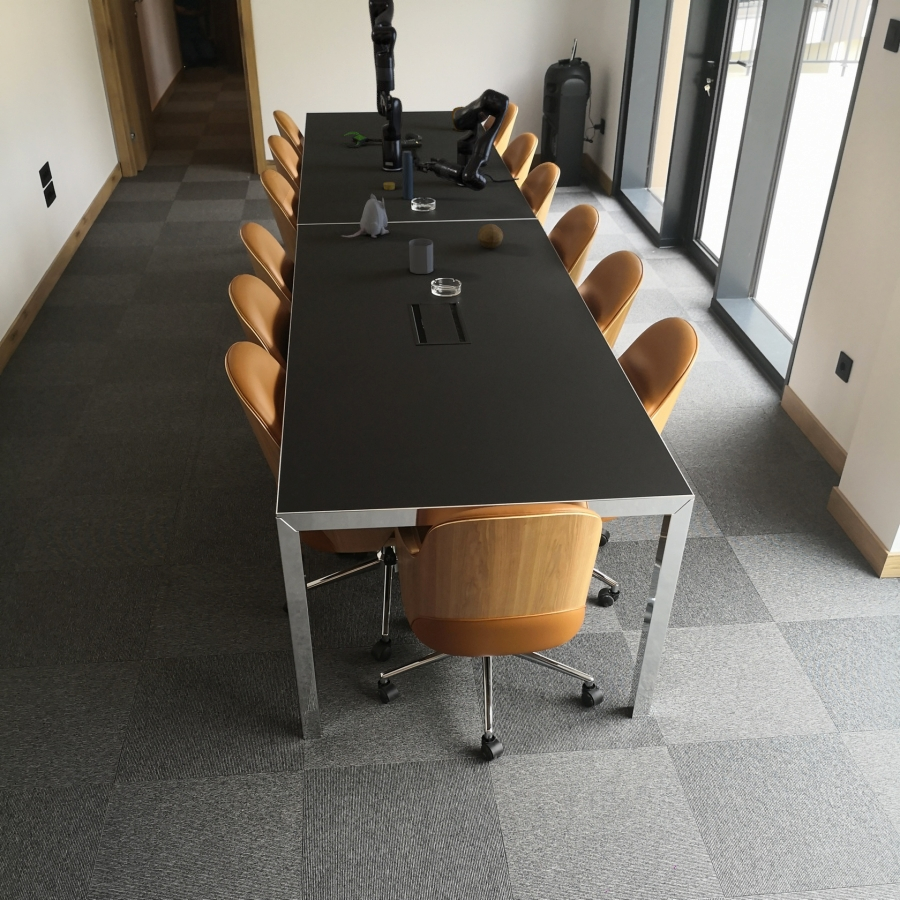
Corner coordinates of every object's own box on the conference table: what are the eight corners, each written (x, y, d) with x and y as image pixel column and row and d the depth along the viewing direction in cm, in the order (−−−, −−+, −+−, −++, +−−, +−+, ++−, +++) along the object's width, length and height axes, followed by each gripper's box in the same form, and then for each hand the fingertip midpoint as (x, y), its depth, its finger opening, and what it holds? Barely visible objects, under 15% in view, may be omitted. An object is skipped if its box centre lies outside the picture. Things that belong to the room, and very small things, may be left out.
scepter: (399, 128, 463) (342, 126, 461) (399, 144, 456) (341, 141, 454) (398, 138, 468) (343, 136, 466) (398, 153, 461) (342, 151, 459)
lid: (387, 190, 391) (387, 185, 390) (381, 188, 395) (381, 183, 393) (397, 188, 394) (397, 183, 392) (391, 186, 397) (391, 181, 396)
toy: (394, 233, 341) (393, 195, 333) (349, 248, 327) (347, 208, 319) (379, 228, 347) (377, 190, 338) (334, 242, 332) (331, 203, 324)
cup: (409, 265, 311) (408, 238, 306) (432, 265, 312) (431, 238, 307) (410, 274, 304) (409, 246, 299) (433, 273, 305) (433, 246, 299)
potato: (500, 240, 334) (501, 219, 330) (505, 252, 323) (505, 231, 318) (475, 240, 334) (475, 220, 330) (479, 253, 322) (479, 232, 318)
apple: (471, 132, 486) (471, 108, 479) (451, 132, 486) (451, 108, 479) (470, 128, 495) (471, 104, 488) (452, 128, 495) (452, 104, 488)
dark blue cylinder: (404, 196, 384) (402, 150, 373) (414, 196, 383) (413, 150, 372) (402, 199, 380) (401, 152, 369) (412, 199, 379) (411, 153, 369)
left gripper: (374, 75, 374) (375, 115, 383) (379, 81, 362) (381, 122, 371) (391, 75, 375) (392, 114, 384) (397, 80, 364) (398, 121, 373)
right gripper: (461, 157, 356) (436, 149, 366) (434, 163, 348) (409, 155, 358) (460, 176, 360) (436, 167, 370) (434, 182, 352) (409, 173, 363)
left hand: (387, 118), depth 378 cm, fingers open, 8 cm apart
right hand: (423, 161), depth 364 cm, fingers open, 8 cm apart
